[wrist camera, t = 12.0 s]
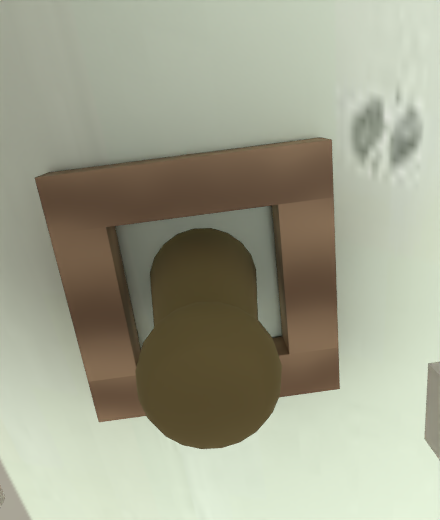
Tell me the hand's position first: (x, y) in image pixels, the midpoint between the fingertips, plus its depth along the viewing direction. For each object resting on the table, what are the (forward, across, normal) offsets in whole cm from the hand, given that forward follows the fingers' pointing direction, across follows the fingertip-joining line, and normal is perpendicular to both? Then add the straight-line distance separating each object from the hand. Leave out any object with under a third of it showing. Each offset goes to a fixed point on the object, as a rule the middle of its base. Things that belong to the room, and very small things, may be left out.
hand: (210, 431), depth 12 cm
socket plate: (+12, 0, 0) cm, 12 cm away
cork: (+12, 0, 0) cm, 12 cm away
